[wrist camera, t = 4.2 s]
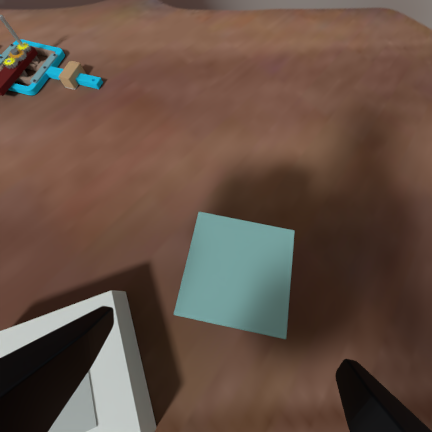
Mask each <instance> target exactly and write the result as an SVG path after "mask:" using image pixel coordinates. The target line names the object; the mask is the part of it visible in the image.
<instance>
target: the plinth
mask: <svg viewBox="0 0 432 432" xmlns="http://www.w3.org/2000/svg"><path fill="white" fill-rule="evenodd" d="M101 306H108V307H112V308H113V310H114V325H113V328H112V330H111V332H110V334H109V336H108V337H107V339H106V341H105V343H104V345H103V347H102V349H101V350H100V352H99V354H98V356H97V358H96V360H95V361H94V363H93V365H92V367H91V368H90V370H89V371H88V373H87V374H86V376H85V377H84V379H83V380H82V382H81V383H80V385H79V386H78V388H77V389H76V391H75V392H74V394H73V395H72V397H71V398H70V400H69V401H68V403H67V404H66V406H65V407H64V409H63V410H62V412H61V413H60V415H59V416H58V418H57V419H56V421H55V422H54V423H53V425H52V426H51V428H50V429H49V431H48V432H155V429H156V423H155V419H154V414H153V410H152V405H151V401H150V397H149V392H148V388H147V383H146V379H145V375H144V370H143V366H142V361H141V357H140V352H139V348H138V344H137V339H136V335H135V330H134V326H133V322H132V317H131V313H130V308H129V304H128V300H127V295H126V291H114V290H111V291H108V292H105V293H103V294H100V295H97V296H95V297H92V298H89V299H86V300H84V301H81V302H78V303H76V304H73V305H70V306H67V307H65V308H62V309H59V310H57V311H54V312H51V313H49V314H46V315H43V316H40V317H38V318H35V319H32V320H30V321H27V322H24V323H21V324H19V325H16V326H13V327H11V328H8V329H5V330H3V331H0V358H1V357H3V356H5V355H7V354H9V353H11V352H13V351H15V350H17V349H19V348H21V347H23V346H25V345H27V344H29V343H31V342H32V341H34V340H36V339H38V338H40V337H42V336H44V335H46V334H48V333H50V332H52V331H54V330H56V329H58V328H60V327H62V326H64V325H66V324H68V323H70V322H72V321H74V320H76V319H78V318H79V317H81V316H83V315H85V314H87V313H89V312H91V311H93V310H95V309H97V308H99V307H101Z"/></svg>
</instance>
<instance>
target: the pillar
mask: <svg viewBox="0 0 432 432" xmlns="http://www.w3.org/2000/svg"><path fill="white" fill-rule="evenodd" d="M293 244H294V230H289V229H284V228H279V227H274V226H269V225H264V224H259V223H254V222H249V221H244V220H239V219H234V218H229V217H224V216H219V215H214V214H209V213H203V212H199V213H198V217H197V221H196V225H195V229H194V234H193V238H192V242H191V246H190V250H189V254H188V258H187V262H186V266H185V270H184V274H183V278H182V283H181V287H180V291H179V295H178V299H177V303H176V307H175V311H174V315H177V316H182V317H186V318H191V319H195V320H200V321H204V322H209V323H214V324H218V325H223V326H227V327H232V328H237V329H241V330H246V331H250V332H255V333H259V334H264V335H269V336H273V337H278V338H282V339H286V334H287V321H288V309H289V296H290V283H291V270H292V257H293Z"/></svg>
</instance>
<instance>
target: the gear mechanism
mask: <svg viewBox="0 0 432 432" xmlns="http://www.w3.org/2000/svg"><path fill="white" fill-rule="evenodd" d="M0 19H1V20H2V22H3V23H4V25H5V26H6V27H7V29H8V30H9V31H10V33H11V34H12V35H13V37H14V38H15V39H16V41H15V42H14V43H13V44H11V45H10V46H9V47H8V48H7V49H6V50H5V51H4V52H3V54H2V55H0V95H2V96H3V95H4V94H5V93H6V92H7V91H8V90H10V91H14V92H18V93H22V94H26V95H35V94H37V93H38V92H39V90H40V89H41V88H42V87H43V85H44V84H45V83H46V81H47V80H48V79H49V78H54V79H58V80H61V81H62V83H63V84H64V86H65V87H66V88H71V89H76V88H77V86H78V85H83V86H88V87H92V88H96V89H99V88H100V87H101V85H102V83H103V81H102V79H101V78H100V77H95V76H91V75H87V74H86V73H85V71H84V69H83V67H82V66H81V64H80V63H78V62H74V61H69V63H68V64H67V66H66V67H65V68H64V69H61V68H57V67H58V66H59V64H60V63H61V61H62V60H63V59H64V57H65V54H64V52H63V51H62V49H61V48H57V47H53V46H48V45H44V44H39V43H35V42H30V41H26V40H21V39H19V37H18V36H17V35H16V33H15V32H14V31H13V29H12V28H11V26H10V25H9V24H8V22H7V21H6V20H5V18H4V17H3V15H0ZM37 54H39V55H40V54H41V55H43V56H48V58H47V59H46V61H45V60H43V62H42V61H41V62H39V61H40V60H39V58H38V57H37ZM25 69H29V70H34V71H36V73H35V74H33V75H34V76H31V77H30V76H29V77H27V75H28V74H27V73H26V72H25V71H24V70H25ZM15 81H17V82H21V83H25V84H30V85H29V86H24V85H19V84H15V83H14V82H15Z"/></svg>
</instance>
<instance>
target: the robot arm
mask: <svg viewBox="0 0 432 432" xmlns="http://www.w3.org/2000/svg"><path fill="white" fill-rule="evenodd" d="M113 325H114V310H113V308H112V307H108V306H101V307H99V308H97V309H95V310H93V311H91V312H89V313H87V314H85V315H83V316H81V317H79V318H78V319H76V320H74V321H72V322H70V323H68V324H66V325H64V326H62V327H60V328H58V329H56V330H54V331H52V332H50V333H48V334H46V335H44V336H42V337H40V338H38V339H36V340H34V341H32V342H31V343H29V344H27V345H25V346H23V347H21V348H19V349H17V350H15V351H13V352H11V353H9V354H7V355H5V356H3V357H1V358H0V432H48V431H49V429H50V428H51V426H52V425H53V423H54V422H55V421H56V419H57V418H58V416H59V415H60V413H61V412H62V410H63V409H64V407H65V406H66V404H67V403H68V401H69V400H70V398H71V397H72V395H73V394H74V392H75V391H76V389H77V388H78V386H79V385H80V383H81V382H82V380H83V379H84V377H85V376H86V374H87V373H88V371H89V370H90V368H91V367H92V365H93V363H94V361H95V360H96V358H97V356H98V354H99V352H100V350H101V349H102V347H103V345H104V343H105V341H106V339H107V337H108V336H109V334H110V332H111V330H112V328H113ZM336 381H337V385H338V389H339V393H340V397H341V401H342V405H343V409H344V413H345V417H346V421H347V424H348V427H349V430H350V432H432V431H431V430H430V429H429V428H428V427H427V426H426V425H425V424H424V423H422V422H421V421H420V420H419V419H418V418H417V417H416V416H415V415H414V414H413V413H412V412H411V411H410V410H408V409H407V408H406V407H405V406H404V405H403V404H402V403H401V402H400V401H399V400H398V399H397V398H396V397H395V396H393V395H392V394H391V393H390V392H389V391H388V390H387V389H386V388H385V387H384V386H383V385H382V384H381V383H379V382H378V381H377V380H376V379H375V378H374V377H373V376H372V375H371V374H370V373H369V372H368V371H367V370H366V369H364V368H363V367H362V366H361V365H360V364H359V363H358V362H357V361H354V360H349V359H344V360H343V362H342V363H341V365H340V366H339V368H338V369H337V371H336Z"/></svg>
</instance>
